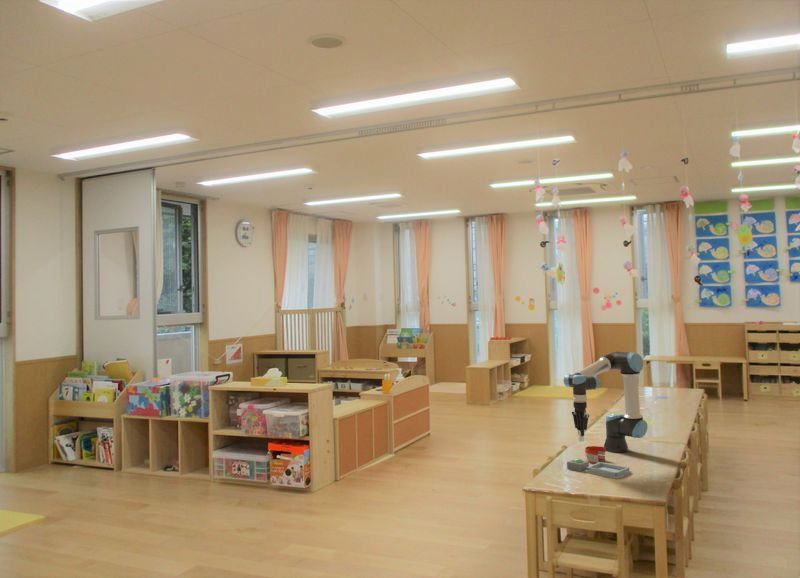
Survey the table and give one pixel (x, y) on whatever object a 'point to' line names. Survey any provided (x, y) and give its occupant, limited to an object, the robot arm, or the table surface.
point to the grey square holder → (577, 465)
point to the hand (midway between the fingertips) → (581, 441)
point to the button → (578, 460)
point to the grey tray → (608, 470)
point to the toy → (595, 454)
